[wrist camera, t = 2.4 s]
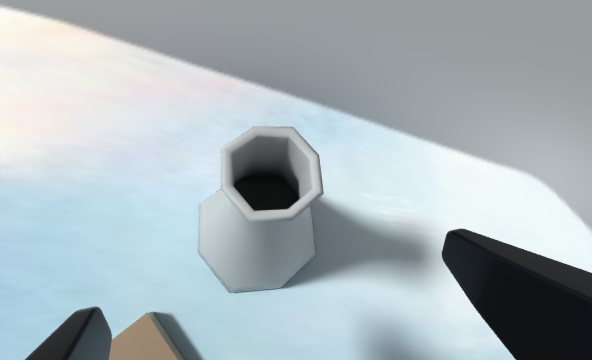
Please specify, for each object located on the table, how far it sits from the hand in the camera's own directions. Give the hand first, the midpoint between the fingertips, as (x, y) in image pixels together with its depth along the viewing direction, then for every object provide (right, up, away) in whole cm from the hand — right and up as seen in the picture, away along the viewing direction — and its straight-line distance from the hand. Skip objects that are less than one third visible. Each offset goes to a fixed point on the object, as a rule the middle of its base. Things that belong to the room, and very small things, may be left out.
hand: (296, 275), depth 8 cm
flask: (-2, -1, +11) cm, 11 cm away
